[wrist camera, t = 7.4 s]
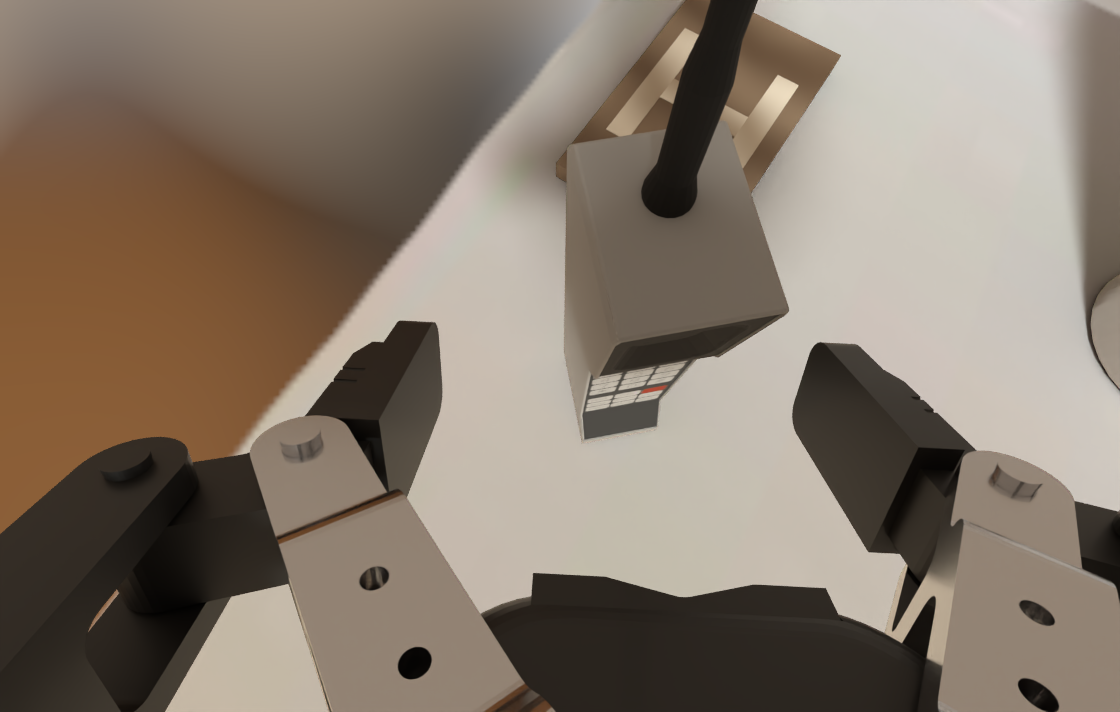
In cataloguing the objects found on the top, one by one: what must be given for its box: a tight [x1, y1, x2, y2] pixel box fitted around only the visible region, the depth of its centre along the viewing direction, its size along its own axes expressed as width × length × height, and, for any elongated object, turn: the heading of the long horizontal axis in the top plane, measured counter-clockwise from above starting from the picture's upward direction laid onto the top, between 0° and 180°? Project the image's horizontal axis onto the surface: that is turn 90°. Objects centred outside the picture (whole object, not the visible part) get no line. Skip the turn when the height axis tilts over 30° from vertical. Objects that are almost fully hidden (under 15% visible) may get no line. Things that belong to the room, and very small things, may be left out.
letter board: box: [556, 0, 841, 193], centre depth 31 cm, size 16×10×1 cm, turn 146°
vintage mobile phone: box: [564, 0, 789, 444], centre depth 15 cm, size 4×5×25 cm
